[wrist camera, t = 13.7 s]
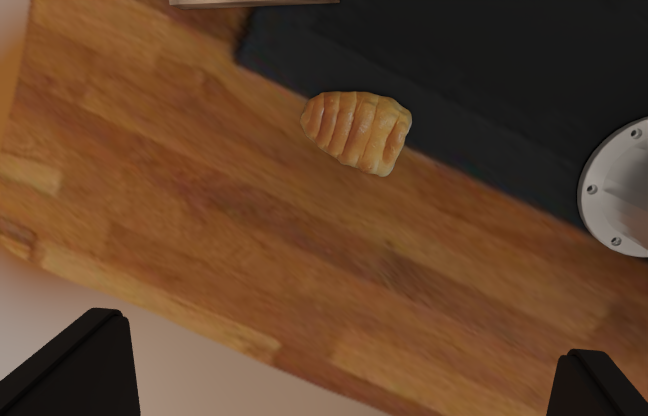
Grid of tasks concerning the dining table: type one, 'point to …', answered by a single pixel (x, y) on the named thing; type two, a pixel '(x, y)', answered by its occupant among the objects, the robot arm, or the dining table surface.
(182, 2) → the caddy
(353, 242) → the dining table surface
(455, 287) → the dining table surface
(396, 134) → the pastry
